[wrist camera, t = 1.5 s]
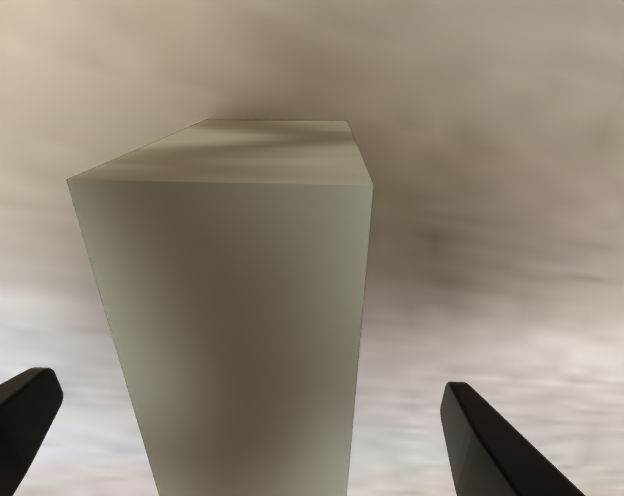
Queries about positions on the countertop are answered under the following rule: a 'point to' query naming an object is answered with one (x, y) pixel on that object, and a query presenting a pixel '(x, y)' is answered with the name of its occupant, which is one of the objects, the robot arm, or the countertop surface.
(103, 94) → the countertop surface
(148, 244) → the sage block
